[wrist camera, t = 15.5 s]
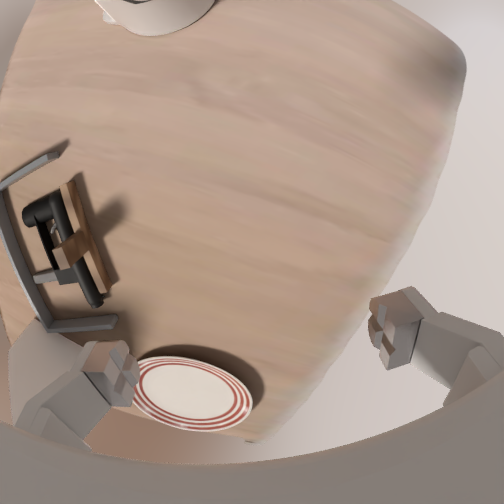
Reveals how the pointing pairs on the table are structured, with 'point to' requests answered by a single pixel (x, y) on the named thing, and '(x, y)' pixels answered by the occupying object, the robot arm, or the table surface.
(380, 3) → the table surface
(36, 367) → the white fork-shaped stand
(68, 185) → the walnut scraper
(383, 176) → the table surface
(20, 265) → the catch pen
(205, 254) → the table surface
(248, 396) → the dinner plate
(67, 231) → the black angular piece
